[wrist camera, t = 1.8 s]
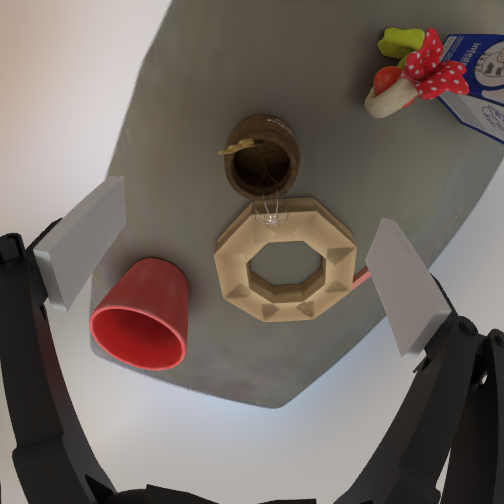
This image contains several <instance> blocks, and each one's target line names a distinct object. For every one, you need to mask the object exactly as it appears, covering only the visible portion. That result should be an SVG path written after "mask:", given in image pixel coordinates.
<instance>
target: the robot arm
mask: <svg viewBox="0 0 504 504" xmlns="http://www.w3.org/2000/svg"><path fill="white" fill-rule="evenodd" d="M125 226H126V210H125V187H124V176H113V175H111V176H110V177H108V178H107V179H106V180H105V181H104V182H102V183H101V184H100V185H99V186H98V187H97V188H96V189H94V191H92V192H91V193H90V194H89V195H88V196H86V197H85V198H84V199H83V200H82V201H81V202H80V203H79V204H78V205H77V206H75V207H74V208H73V209H72V210H71V211H70V212H69V213H68V214H67V215H66V216H65V217H64V218H60V219H58V220H56V221H54V222H52V223H51V224H50V225H49V226H48V227H47V228H46V229H45V231H43V232H42V233H41V234H40V236H38V237H37V238H36V239H35V240H34V241H33V242H32V243H31V244H30V245H29V247H27V248H26V250H25V247H24V244H23V241H22V237H21V235H20V234H18V233H9V234H6V235H3V236H1V237H0V362H1V369H2V377H3V383H4V389H5V395H6V400H7V405H8V410H9V414H10V419H11V423H12V427H13V431H14V434H15V438H16V442H17V447H16V449H14V450H13V452H12V458H13V462H14V467H15V469H16V472H17V475H18V478H19V481H20V484H21V486H22V489H23V491H24V494H25V496H26V499H27V501H28V503H29V504H219V503H215V502H213V501H210V500H207V499H204V498H202V497H199V496H196V495H194V494H191V493H188V492H183V491H177V490H171V489H167V488H162V487H157V486H153V485H149V484H147V487H146V489H134V490H128V491H123V492H119V493H117V491H116V489H115V488H114V486H113V484H112V483H111V481H110V479H109V478H108V476H107V475H106V473H105V472H104V470H103V469H102V468H101V467H100V465H99V463H98V461H97V460H96V458H95V456H94V454H93V452H92V450H91V447H90V445H89V443H88V441H87V439H86V436H85V434H84V432H83V429H82V427H81V425H80V422H79V420H78V417H77V415H76V412H75V410H74V407H73V404H72V401H71V399H70V396H69V393H68V390H67V387H66V384H65V381H64V378H63V375H62V372H61V368H60V365H59V362H58V358H57V355H56V351H55V347H54V343H53V339H52V335H51V331H50V326H49V322H48V317H47V312H46V308H45V306H44V302H45V300H46V299H47V297H48V298H49V300H50V303H51V305H52V307H53V308H56V309H59V310H63V311H66V312H67V311H68V310H69V308H70V306H71V305H72V303H73V302H74V300H75V298H76V297H77V295H78V294H79V292H80V290H81V289H82V287H83V286H84V284H85V283H86V281H87V280H88V278H89V277H90V275H91V274H92V272H93V271H94V269H95V268H96V266H97V265H98V263H99V262H100V260H101V259H102V257H103V256H104V255H105V253H106V252H107V250H108V249H109V247H110V246H111V245H112V243H113V242H114V240H115V239H116V238H117V236H118V235H119V234H120V232H121V231H122V230H123V228H124V227H125ZM365 263H366V265H367V267H368V270H369V272H370V274H371V277H372V279H373V282H374V284H375V286H376V289H377V291H378V294H379V296H380V299H381V302H382V304H383V307H384V309H385V312H386V315H387V317H388V320H389V323H390V325H391V328H392V331H393V334H394V336H395V339H396V342H397V345H398V348H399V351H400V354H401V357H402V358H417V356H418V355H419V354H420V353H421V351H422V350H423V349H424V350H425V352H426V357H425V358H424V359H423V360H422V361H421V363H420V364H419V365H418V366H417V367H416V368H415V370H414V371H413V372H414V373H415V372H416V371H417V370H418V371H417V374H416V376H415V378H414V380H413V382H412V385H411V387H410V389H409V391H408V393H407V395H406V397H405V399H404V401H403V403H402V405H401V407H400V409H399V411H398V413H397V414H396V416H395V418H394V420H393V422H392V424H391V425H390V427H389V429H388V431H387V432H386V434H385V436H384V438H383V439H382V441H381V443H380V444H379V446H378V448H377V449H376V451H375V453H374V454H373V455H372V457H371V459H370V460H369V462H368V463H367V465H366V466H365V468H364V469H363V471H362V472H361V474H360V475H359V476H358V478H357V479H356V481H355V482H354V483H353V485H352V486H351V487H350V488H349V490H348V491H347V492H345V493H344V494H343V495H342V496H341V497H339V498H338V499H337V500H336V501H335V502H334V503H333V504H438V503H439V501H440V497H441V495H440V494H441V493H440V491H438V490H437V489H436V483H437V480H438V478H439V476H440V473H441V471H442V469H443V466H444V463H445V461H446V459H447V456H448V454H449V451H450V448H451V451H450V458H449V464H448V470H447V475H446V480H445V484H444V489H443V493H442V498H441V502H440V504H504V333H503V332H502V331H500V330H498V329H492V330H491V331H490V333H489V334H488V335H487V336H484V335H481V334H479V333H478V330H477V328H476V326H475V325H474V324H473V322H471V321H470V320H469V319H467V318H466V317H464V316H458V314H457V312H456V311H455V309H454V307H453V305H452V303H451V302H450V300H449V298H448V297H447V295H446V293H445V291H444V290H443V288H442V286H441V285H440V283H439V281H438V280H437V279H436V278H435V277H434V276H433V275H432V274H431V273H429V271H428V269H427V268H426V266H425V265H424V263H423V262H422V260H421V258H420V257H419V255H418V254H417V252H416V251H415V249H414V248H413V246H412V245H411V243H410V242H409V240H408V239H407V237H406V236H405V235H404V233H403V232H402V230H401V229H400V227H399V226H398V225H397V223H396V222H395V221H394V220H390V219H386V218H382V220H381V223H380V225H379V228H378V230H377V233H376V235H375V238H374V240H373V243H372V245H371V247H370V250H369V252H368V255H367V257H366V259H365ZM486 375H487V378H486V381H485V383H484V384H483V383H482V379H483V378H484V377H485V376H486ZM0 504H1V484H0ZM259 504H316V499H299V500H274V501H269V502H264V503H259Z"/></svg>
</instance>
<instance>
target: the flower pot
mask: <svg viewBox="0 0 504 504" xmlns="http://www.w3.org/2000/svg"><path fill="white" fill-rule="evenodd" d="M89 327H90V331H91V333H92V335H93V337H94V339H95V340H96V341H97V343H98V344H99V345H100V346H101V347H102V348H103V349H104V350H105V351H106V352H108V353H109V354H110V355H112V356H113V357H115V358H117V359H118V360H120V361H122V362H124V363H127V364H129V365H132V366H135V367H138V368H143V369H149V370H164V369H169V368H172V367H175V366H176V365H178V364H179V363H180V362H181V361H182V360H183V359H184V357H185V355H186V348H187V332H188V283H187V280H186V278H185V276H184V275H183V273H182V272H181V271H180V270H179V269H178V268H177V267H176V266H174V265H173V264H171V263H169V262H167V261H164V260H161V259H155V258H147V259H142V260H140V261H138V262H136V263H135V264H134V265H133V266H132V267H131V268H130V269H129V270H128V271H127V272H126V273H125V274H124V276H123V277H122V278H121V279H120V280H119V281H118V282H117V283H116V284H115V286H114V287H113V288H112V289H111V290H110V291H109V293H108V294H107V295H106V296H105V298H104V299H103V300H102V301H101V303H100V304H99V305H98V306H97V308H96V309H95V310H94V312H93V313H92V315H91V317H90V320H89Z"/></svg>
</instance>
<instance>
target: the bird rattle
mask: <svg viewBox="0 0 504 504" xmlns="http://www.w3.org/2000/svg"><path fill="white" fill-rule="evenodd" d="M378 48H379V50H380V51H381V53H382V54H383V55H385V56H389V57H393V58H399V59H402V60H401V61H400V62H399V65H397V66H388V67H384V68H382V69H381V70H379V71H378V72H377V74H376V75H375V77H374V81H373V87H372V88H371V90H370V93H369V94H368V96H367V97H366V99H365V103H364V106H365V109H366V111H367V112H368V113H369V114H370V115H371V116H372V117H374V118H383V117H386V116H388V115H390V114H392V113H394V112H396V111H397V110H399V109H400V108H404V107H407V106H408V105H410V104H411V103H412V102H413V100H414V99H415V97H419V96H420V97H421V98H422V99H423V100H427V99H433V98H435V97H437V96H439V95H440V94H441V93H443V92H444V91H449V92H452V93H456V94H460V95H466V94H468V93H469V87H468V84H467V82H466V81H465V79H464V78H463V76H462V75H463V74H464V73H465V72H466V71H467V70H466V67H465V66H464V65H463V64H462V63H460V62H456V61H444V62H440V63H439V61H440V59H441V55H442V53H443V49H444V48H443V46H442V44H441V41H440V38H439V36H438V34H437V32H436V30H435V29H433V28H428V29H427V31H426V34H425V33H424V32H423V31H422V30H420V29H408V30H402V29H399V28H394V27H392V28H388V29H386V30H385V33H384V37H383V39H382V40H380V41H378Z"/></svg>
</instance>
